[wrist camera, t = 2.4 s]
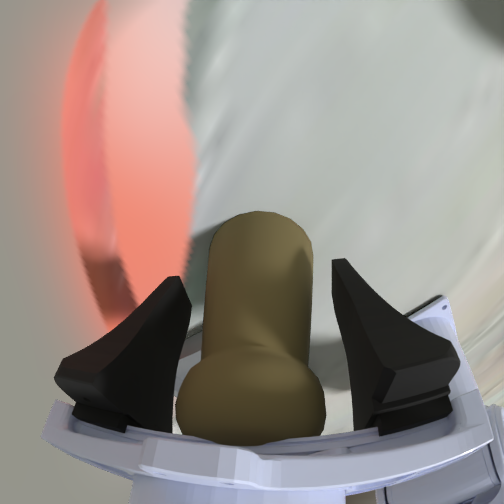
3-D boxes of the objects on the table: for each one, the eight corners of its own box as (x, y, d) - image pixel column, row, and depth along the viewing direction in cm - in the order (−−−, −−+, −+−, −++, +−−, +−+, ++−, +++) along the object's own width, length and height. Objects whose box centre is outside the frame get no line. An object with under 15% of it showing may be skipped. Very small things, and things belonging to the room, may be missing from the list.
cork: (236, 305, 18) (214, 470, 9) (190, 233, 15) (115, 422, 6) (324, 280, 17) (352, 460, 8) (292, 195, 14) (321, 415, 5)
